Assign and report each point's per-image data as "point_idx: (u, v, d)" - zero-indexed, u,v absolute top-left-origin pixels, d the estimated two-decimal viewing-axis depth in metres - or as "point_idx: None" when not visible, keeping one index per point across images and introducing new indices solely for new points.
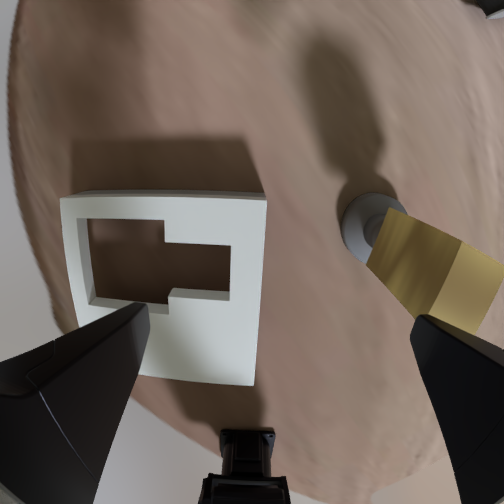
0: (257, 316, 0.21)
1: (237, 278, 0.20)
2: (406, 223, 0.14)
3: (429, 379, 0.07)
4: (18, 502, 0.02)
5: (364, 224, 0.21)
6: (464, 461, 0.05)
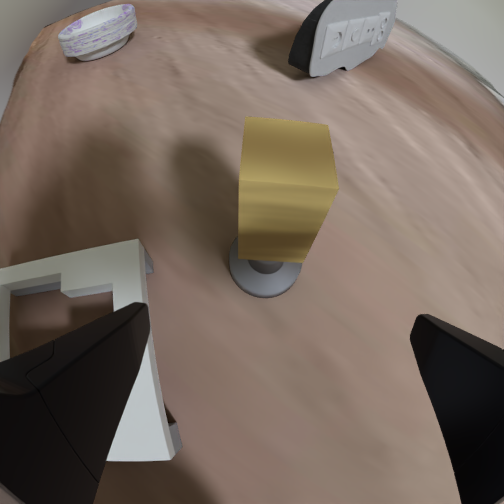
0: (147, 355, 0.17)
1: None
2: None
3: (429, 379, 0.07)
4: (18, 502, 0.02)
5: None
6: (464, 461, 0.05)
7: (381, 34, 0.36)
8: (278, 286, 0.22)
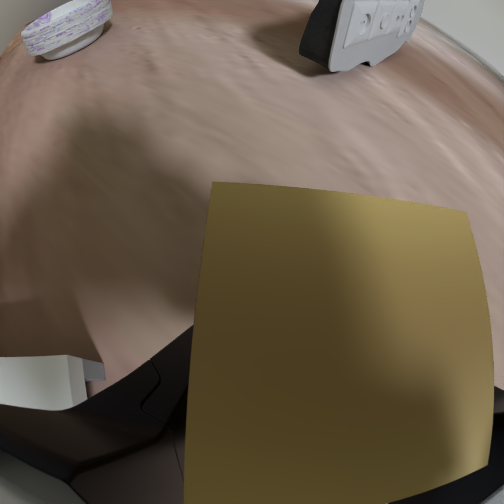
0: None
1: None
2: None
3: None
4: None
5: None
6: None
7: (409, 24, 0.27)
8: None
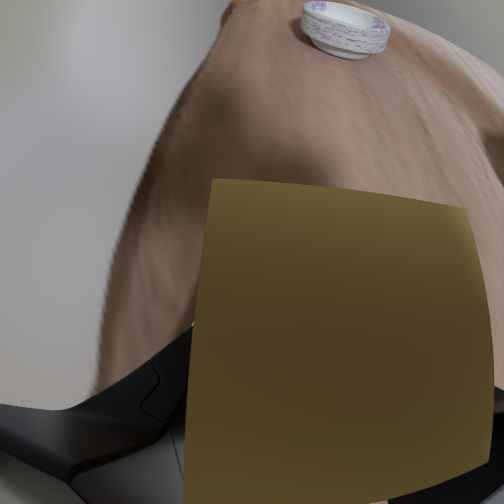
0: None
1: None
2: None
3: None
4: None
5: None
6: None
7: None
8: None
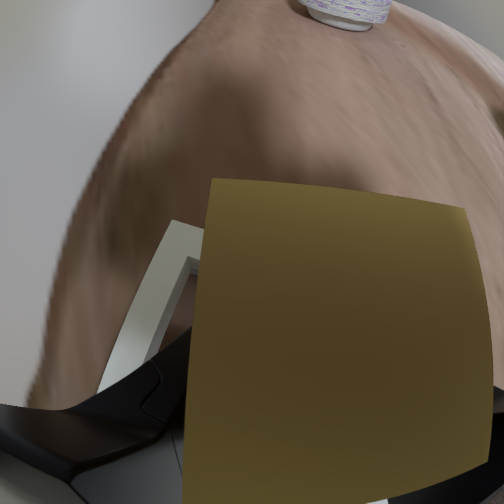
0: None
1: None
2: None
3: None
4: None
5: None
6: None
7: None
8: None
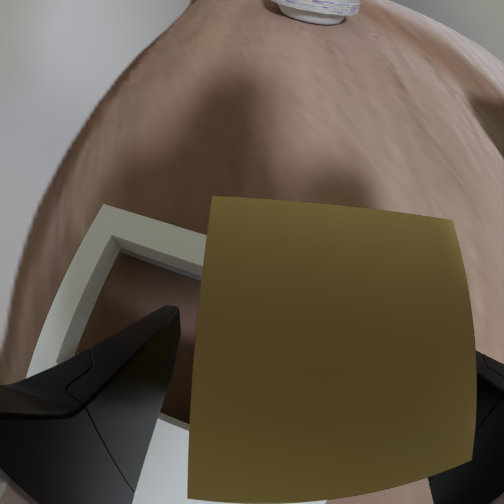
0: None
1: None
2: None
3: None
4: None
5: None
6: None
7: None
8: None
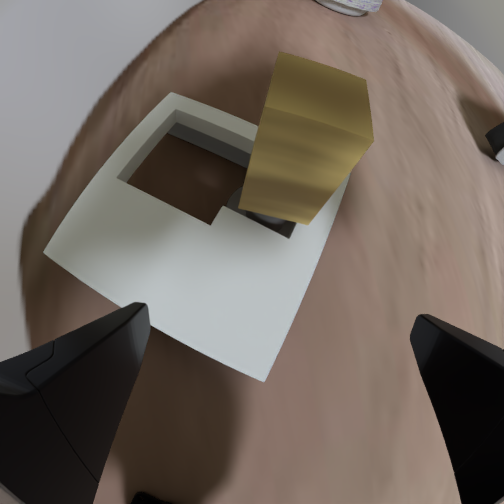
0: (312, 271, 0.17)
1: None
2: None
3: (429, 379, 0.07)
4: (18, 502, 0.02)
5: (245, 210, 0.20)
6: (464, 461, 0.05)
7: None
8: None
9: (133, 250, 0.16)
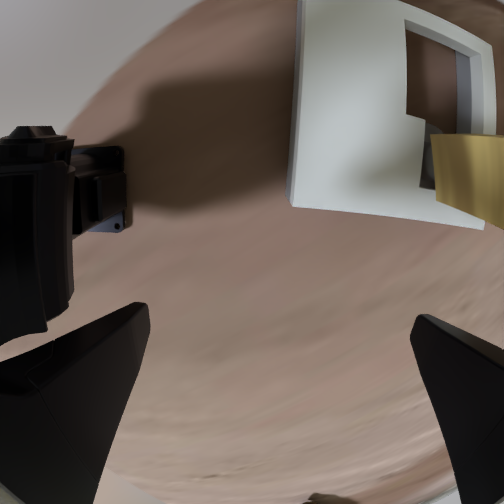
0: (399, 215, 0.17)
1: None
2: (498, 135, 0.11)
3: (429, 379, 0.07)
4: (18, 502, 0.02)
5: (424, 140, 0.17)
6: (464, 461, 0.05)
7: None
8: None
9: (356, 54, 0.13)
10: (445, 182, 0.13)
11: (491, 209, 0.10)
